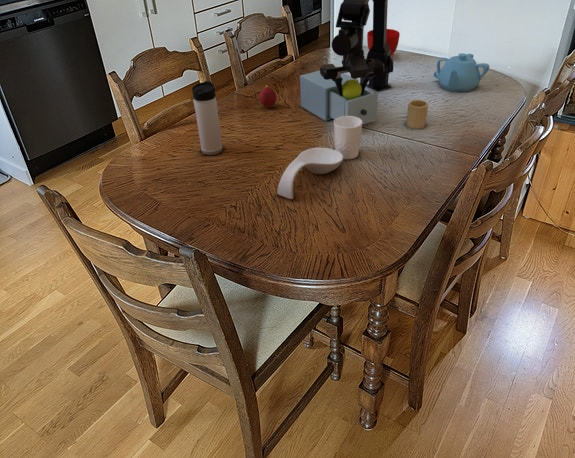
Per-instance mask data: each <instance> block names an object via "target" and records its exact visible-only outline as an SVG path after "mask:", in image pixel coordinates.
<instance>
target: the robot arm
mask: <svg viewBox="0 0 575 458" xmlns="http://www.w3.org/2000/svg"><path fill="white" fill-rule="evenodd" d="M371 1H372V30H373V45H372V47H371V48H370V50H369V49H368V52H367V54H366V57H365V51H364V32H365V31H364V28H365V26H367V23H368V20H369V16H370V13H371V9H370V5H369V2H370V0H342V2H341V3H340V5H339V10H338V15H337V17H336V23H335V28H339V29H338V33H337V34H336V35H335V36H334V37H333V39H332V41H331V49H332V50H333V52H334V54H335V55H337V56H340V57H342V60H341V65H342V66H335V64H334V63H325V64H321V66H319V67H320V68H319V71H320V74H321V75H322V77H323V78H324V79H325V80H329V79H332V81H334V82H335V84H336V87H337V90H338V93H339V95H340V96H342V80H343V79H342V78H341V73H344V74H347V73H349V76H351V78H353V79H357V80H358V79H359V83H360V85H361V87H362V92H361V95H363V92H364V90H366V88H367V87H368V88H369V89H372V90H374V91H376V92H379V91H383V90H387V89H390V88H391V85H390V84H389V78H390V73H393V72H394V65H395V64H394V63H395V62H394V60H393V55H392V56H391V49H390V47H389V46H388V44H387V42H386V35H387V29H388V5H389V4H388V3H389V0H371Z"/></svg>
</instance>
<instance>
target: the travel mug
mask: <svg viewBox="0 0 575 458" xmlns="http://www.w3.org/2000/svg"><path fill="white" fill-rule="evenodd" d="M191 91H192V99H193V106H194V111H195V112H194V113H195V119H196V124H197V130H198V131H197V132H198V138H199V143H200V144H199V145H200V149H201V153H202V154H203V155H206V156H215V155H218V154H220V153H221V152H222V151H223V150H224V149H223V141H222V134H221V126H220V125H221V123H220V118H219V117H220V116H219V109H218V103H217V95H216V88H215V85H214V83H212V81H210V80H204V82H198V83H196V84H195V85H193V86H192V88H191Z"/></svg>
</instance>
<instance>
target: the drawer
mask: <svg viewBox="0 0 575 458" xmlns="http://www.w3.org/2000/svg"><path fill="white" fill-rule="evenodd" d="M378 102H379V93H378V92H377V91H376V92H375V91H374V92H372V93H371V91H369V90H367V89H365V90H364V92H363V95H360V97H358V98H355V99H352V100H347V99H345V98H344V97H343V96H340V95H339V93H338V90H337V89H333V90H330V91H328V116H329V117H331V118H333V119H332V120H333V121H334V120H335V119H336V118H338V117H342V116H354V117H358V118H360V119H361V120H362V126H363V125H366V124H370V123H372V122H375V121H377V117H378V114H377V113H378Z"/></svg>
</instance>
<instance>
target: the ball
mask: <svg viewBox="0 0 575 458" xmlns="http://www.w3.org/2000/svg"><path fill="white" fill-rule="evenodd" d="M361 92H362V87H361V85H360V81H359V80H358V81H356V80H353V79H351V80H347V81H346V82H344V83H343V85H342V96H343V97H344V98H345V99H347V100H352V99H355V98H358V97H360V95H361Z"/></svg>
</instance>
